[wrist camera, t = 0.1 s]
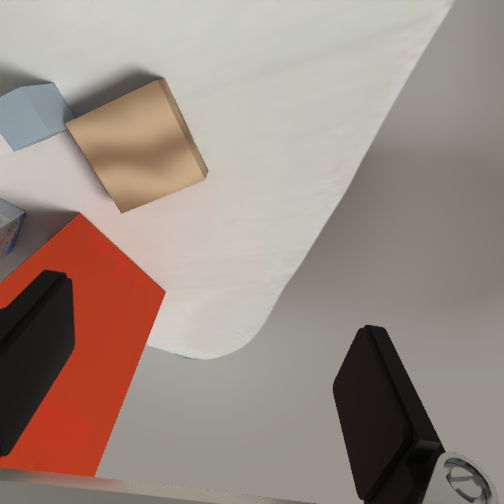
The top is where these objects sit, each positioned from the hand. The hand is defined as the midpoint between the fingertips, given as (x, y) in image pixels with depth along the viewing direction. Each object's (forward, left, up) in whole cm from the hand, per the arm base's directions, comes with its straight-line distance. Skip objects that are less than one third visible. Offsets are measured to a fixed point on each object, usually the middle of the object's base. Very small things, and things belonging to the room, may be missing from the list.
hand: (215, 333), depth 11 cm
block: (-11, -21, -37) cm, 44 cm away
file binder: (+11, -27, -37) cm, 48 cm away
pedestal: (-3, -12, -37) cm, 39 cm away
